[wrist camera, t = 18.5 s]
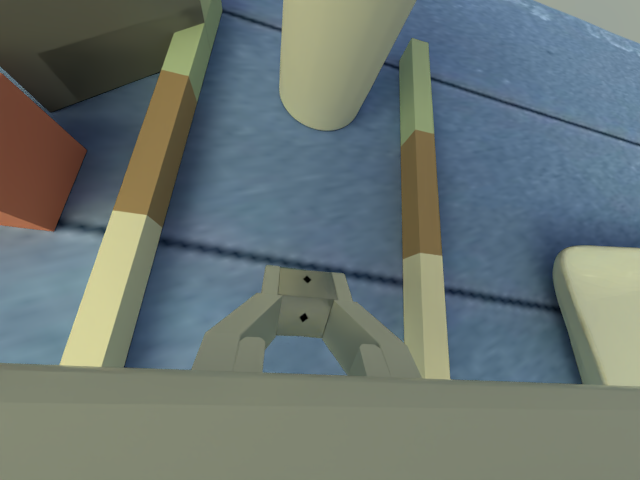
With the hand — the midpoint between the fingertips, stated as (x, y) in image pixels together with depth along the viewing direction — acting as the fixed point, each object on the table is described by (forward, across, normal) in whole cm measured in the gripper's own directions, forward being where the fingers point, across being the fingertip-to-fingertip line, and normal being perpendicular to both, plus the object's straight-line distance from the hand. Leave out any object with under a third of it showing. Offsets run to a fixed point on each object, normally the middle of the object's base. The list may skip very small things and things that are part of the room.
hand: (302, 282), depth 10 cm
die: (+7, +15, +1) cm, 17 cm away
